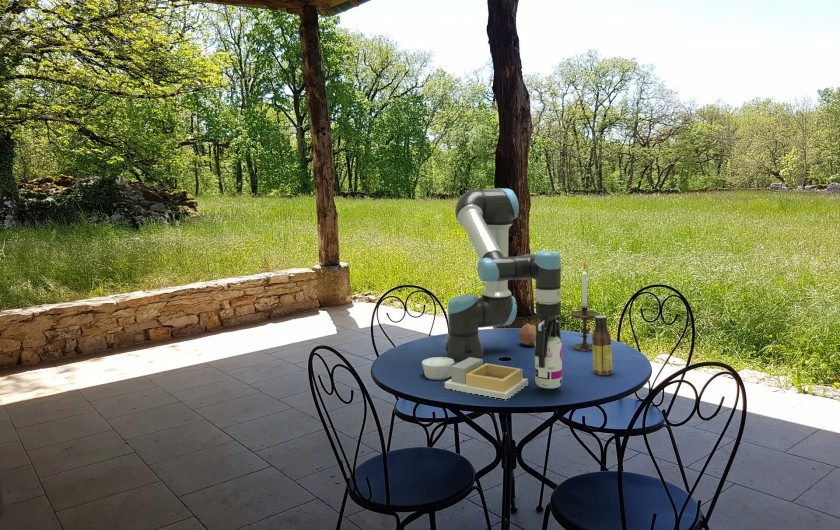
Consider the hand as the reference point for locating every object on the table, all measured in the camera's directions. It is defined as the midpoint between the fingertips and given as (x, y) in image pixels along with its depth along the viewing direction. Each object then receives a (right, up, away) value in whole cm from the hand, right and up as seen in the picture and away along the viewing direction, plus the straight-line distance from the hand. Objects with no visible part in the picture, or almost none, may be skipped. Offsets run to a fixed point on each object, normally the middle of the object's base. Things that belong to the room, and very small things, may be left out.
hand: (548, 372), depth 169 cm
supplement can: (0, -4, +1) cm, 4 cm away
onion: (+5, 0, +54) cm, 54 cm away
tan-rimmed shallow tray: (-19, -6, +7) cm, 21 cm away
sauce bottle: (+22, -3, +15) cm, 27 cm away
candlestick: (+25, 0, +46) cm, 52 cm away
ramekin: (-34, -5, +20) cm, 39 cm away
